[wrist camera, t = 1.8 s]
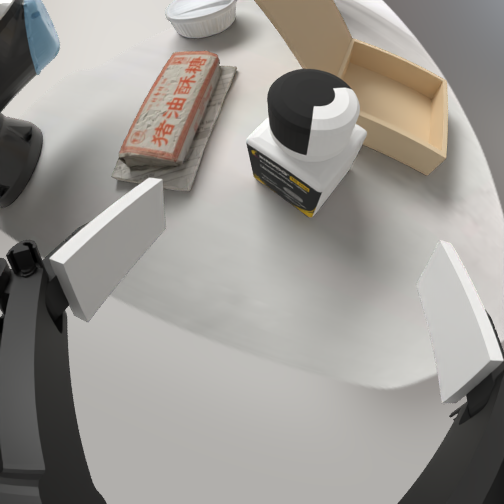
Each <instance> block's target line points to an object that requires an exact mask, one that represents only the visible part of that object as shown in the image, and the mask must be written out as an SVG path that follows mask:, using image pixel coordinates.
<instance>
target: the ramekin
mask: <svg viewBox="0 0 504 504" xmlns="http://www.w3.org/2000/svg"><path fill="white" fill-rule="evenodd" d="M236 2H237V0H174V1H173V2H172V3H171V4H169V6H168V7H167V8H166V10H165V15H166V18H167V19H168V20H169V21H170V22H171V24H172V25H173V27H174V28H175V29H176V31H177V32H178V33H179V34H180V35H182V36H185V37H188V38H203V37H208V36H212V35H215V34H218V33H220V32H222V31H224V30H226V29H227V28H228V27H230V26H231V24H232V23H233V22H234V20H235V15H236Z"/></svg>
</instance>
